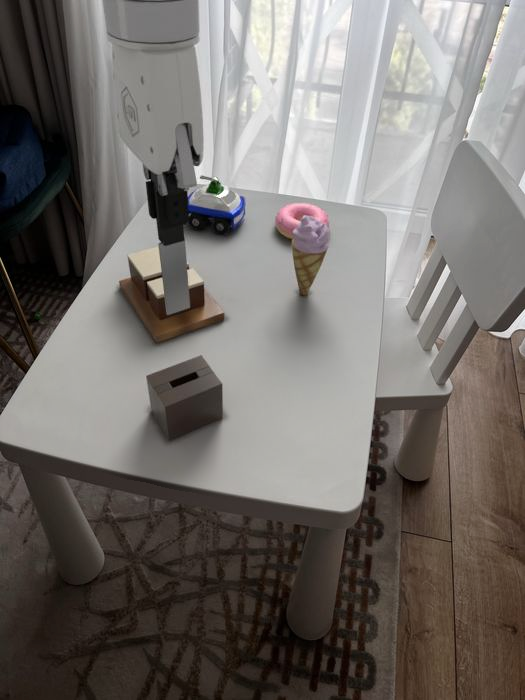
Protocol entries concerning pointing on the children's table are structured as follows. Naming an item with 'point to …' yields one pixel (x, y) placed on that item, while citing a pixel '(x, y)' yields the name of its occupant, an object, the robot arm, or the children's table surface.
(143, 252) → the cake
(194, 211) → the toy car
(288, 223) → the doughnut
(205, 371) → the knife block
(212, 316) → the cutting board
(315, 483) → the children's table surface
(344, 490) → the children's table surface
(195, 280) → the cake slice
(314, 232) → the ice cream cone
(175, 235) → the knife
